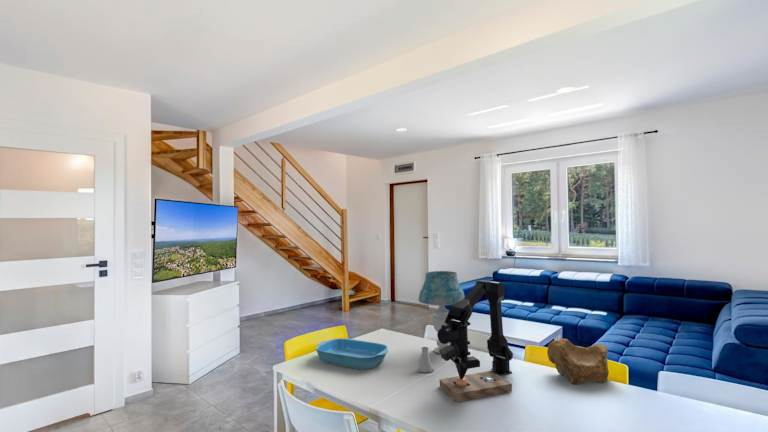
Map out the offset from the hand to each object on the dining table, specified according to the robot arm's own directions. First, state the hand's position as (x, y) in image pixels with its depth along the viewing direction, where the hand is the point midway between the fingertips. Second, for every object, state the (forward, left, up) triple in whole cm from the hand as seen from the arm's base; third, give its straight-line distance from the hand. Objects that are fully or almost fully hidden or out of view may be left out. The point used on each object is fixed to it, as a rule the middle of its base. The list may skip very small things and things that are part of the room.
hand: (461, 378), depth 148 cm
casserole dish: (+32, -49, -6) cm, 59 cm away
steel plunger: (-12, 0, -5) cm, 13 cm away
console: (-6, 0, -5) cm, 8 cm away
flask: (+4, -25, -5) cm, 26 cm away
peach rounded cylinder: (0, 0, -3) cm, 3 cm away
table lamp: (-15, -45, -5) cm, 48 cm away
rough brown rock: (-50, +8, -5) cm, 51 cm away
